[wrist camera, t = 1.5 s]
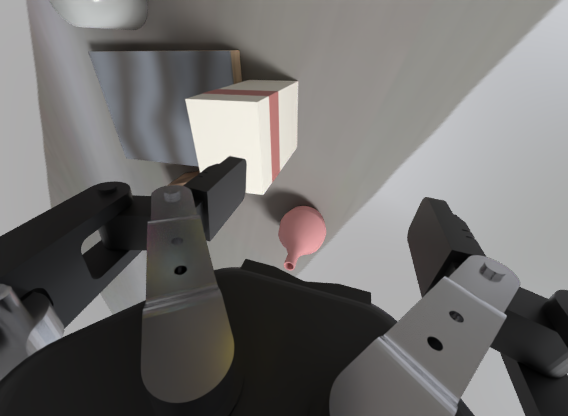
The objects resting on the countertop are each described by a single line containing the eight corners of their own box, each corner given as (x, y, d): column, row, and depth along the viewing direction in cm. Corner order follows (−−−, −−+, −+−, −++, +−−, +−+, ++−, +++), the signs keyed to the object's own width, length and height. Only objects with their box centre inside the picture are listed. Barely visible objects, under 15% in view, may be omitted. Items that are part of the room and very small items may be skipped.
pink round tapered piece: (313, 242, 47) (298, 294, 38) (278, 220, 47) (254, 266, 37) (338, 215, 43) (328, 265, 33) (299, 190, 42) (278, 234, 33)
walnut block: (207, 169, 46) (191, 181, 41) (217, 194, 48) (203, 208, 44) (184, 173, 47) (167, 185, 43) (196, 196, 50) (180, 210, 46)
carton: (298, 80, 34) (257, 101, 22) (297, 147, 39) (263, 195, 27) (248, 79, 36) (184, 98, 23) (253, 143, 40) (202, 187, 28)
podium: (239, 50, 34) (229, 50, 31) (249, 164, 42) (241, 171, 40) (105, 51, 39) (88, 51, 37) (138, 152, 48) (126, 158, 45)
